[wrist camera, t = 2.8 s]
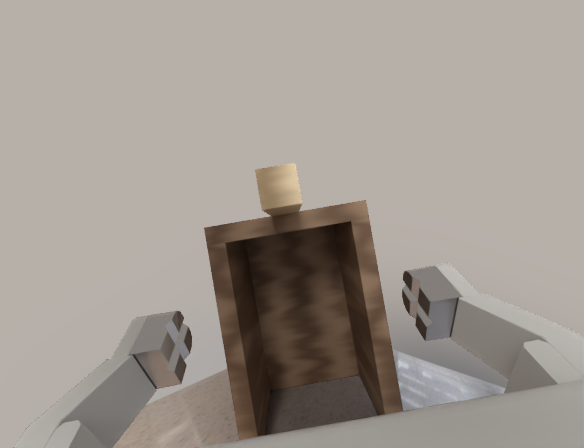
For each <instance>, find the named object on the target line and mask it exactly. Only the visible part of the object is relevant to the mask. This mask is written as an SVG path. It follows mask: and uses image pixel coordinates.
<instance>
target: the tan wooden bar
mask: <svg viewBox="0 0 584 448" xmlns="http://www.w3.org/2000/svg"><path fill="white" fill-rule="evenodd" d="M255 172H256V178H257V184H258V190H259V196H260V202H261V207H262V210H263V211H264V212H266V213H267V214H269V215H271V216H276V215H282V214H288V213H294V212H299V210H300V207H301V205H302V198H301V192H300V186H299V180H298V175H297V169H296V163H292V164H285V165H280V166H274V167H268V168H262V169H257V170H255Z"/></svg>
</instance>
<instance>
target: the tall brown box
mask: <svg viewBox="0 0 584 448" xmlns="http://www.w3.org/2000/svg"><path fill="white" fill-rule="evenodd" d="M204 230H205V236H206V242H207V248H208V254H209V260H210V265H211V272H212V278H213V283H214V290H215V295H216V302H217V307H218V314H219V320H220V326H221V332H222V338H223V344H224V350H225V356H226V362H227V368H228V374H229V380H230V386H231V392H232V398H233V404H234V410H235V416H236V422H237V428H238V434H239V440H242V439H248V438H253V437H259V436H265V433H266V425H267V417H268V409H269V401H270V393H271V390H277V389H282V388H288V387H294V386H299V385H305V384H311V383H317V382H322V381H328V380H334V379H339V378H345V377H351V376H356V375H360V377H361V380H362V382H363V384H364V386H365V388H366V390H367V392H368V395H369V397H370V399H371V401H372V403H373V405H374V407H375V410H376V412H377V414H378V416H379V415H384V414H390V413H396V412H402V411H403V408H402V402H401V396H400V391H399V385H398V379H397V374H396V368H395V362H394V357H393V351H392V346H391V340H390V334H389V329H388V323H387V318H386V312H385V306H384V301H383V294H382V289H381V283H380V278H379V272H378V266H377V260H376V255H375V249H374V243H373V238H372V232H371V226H370V221H369V215H368V210H367V204H366V200H364V201H358V202H352V203H346V204H341V205H335V206H329V207H323V208H317V209H312V210H305V211H299V212H294V213H288V214H282V215H276V216H270V217H264V218H259V219H253V220H247V221H241V222H235V223H230V224H224V225H218V226H212V227H206V228H204Z"/></svg>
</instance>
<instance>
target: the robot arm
mask: <svg viewBox="0 0 584 448" xmlns="http://www.w3.org/2000/svg"><path fill="white" fill-rule="evenodd" d="M403 280H404V281H405V284H406V285H405V287H404V288H403V289H402V297H403V302H404V305H405V308H406V310H407V311H408V313H409V315H410V316H412V317H414V318H415V319H416V327H417V328H418V330H419V332H420V333H421V335H422V336H423V338H424V340H425V341H430V340H437V339H444V338H451V339H452V340H453V341H454V342H456V343H457V344H459V345H460V346H462V347H463V348H465V349H466V350H467V351H469V352H470V353H472V354H473V355H475V356H476V357H478V358H479V359H481V360H482V361H483V362H485V363H486V364H488V365H489V366H491V367H492V368H493V369H495V370H496V371H498V372H499V373H501V374H502V375H503V376H505V377H506V378H508V379H509V382H508V384H507V387H506V389H505V392H504V394H499V395H493V396H487V397H482V398H476V399H470V400H465V401H459V402H453V403H447V404H442V405H436V406H430V407H425V408H419V409H413V410H407V411H402V412H396V413H390V414H384V415H379V416H373V417H367V418H361V419H356V420H350V421H344V422H339V423H333V424H327V425H321V426H316V427H310V428H304V429H299V430H293V431H287V432H282V433H276V434H270V435H265V436H259V437H253V438H248V439H242V440H236V441H230V442H225V443H219V444H213V445H208V446H202V447H196V448H584V338H583V337H582V336H581V335H579V334H578V333H577V332H575V331H573V330H571V329H568V328H566V327H563V326H561V325H559V324H556V323H554V322H551V321H549V320H547V319H544V318H542V317H539V316H537V315H535V314H532V313H530V312H527V311H525V310H523V309H520V308H518V307H515V306H513V305H510V304H508V303H506V302H503V301H501V300H499V299H496V298H494V297H491V296H489V295H487V294H479V293H478V292H477V291H476V290H475V289H474V288H473V287H472V286H471V285H470V284H469V283H468V282H467V281H466V280H465V279H464V278H463V277H462V276H461V275H460V274H459V273H458V272H457V271H456V270H455V269H454V268H453V267H452V266H451V265H450V264H448V263H444V264H439V265H434V266H429V267H425V268H419V269H414V270H408V271H405V272H404V274H403ZM183 319H184V317H183V315H182V314H181V312H180V311H174V312H167V313H160V314H154V315H150V316H142V317H137V318H135V319H134V320H133V321H132V322H131V324H130V326H129V328H128V329H127V331H126V333H125V335H124V337H123V339H122V340H121V342H120V344H119V346H118V348H117V350H116V351H115V353H114V355H113V357H112V358H111V359H107V360H106V361H105V362H103V363H102V364H101V365H100V366H99V367H97V368H96V369H95V370H94V371H93V372H92V373H90V374H89V375H88V376H87V377H86V378H85V379H83V380H82V381H81V382H80V383H79V384H77V385H76V386H75V387H74V388H73V389H72V390H71V391H69V392H68V393H67V394H66V395H65V396H63V397H62V398H61V399H60V400H59V401H58V402H56V403H55V404H54V405H53V406H52V407H50V409H48V410H47V411H46V412H45V413H43V414H42V415H41V416H40V417H39V418H38V419H36V420H35V421H34V422H33V423H32V424H31V425H29V426H28V427H27V428H26V430H25V431H24V433H23V434H22V436H21V437H20V439H19V440H18V442H17V443H16V445H15V446H14V447H13V448H113V446H114V445H115V444H116V443H117V441H118V440H119V439H120V437H121V436H122V435H123V433H124V432H125V431H126V430H127V428H128V427H129V426H130V424H131V423H132V422H133V420H134V419H135V418H136V417H137V415H138V414H139V413H140V411H141V410H142V409H143V407H144V406H145V405H146V404H147V402H148V401H149V400H150V398H151V397H152V396H153V394H154V393H155V392H156V389H159V388H164V387H169V386H174V385H178V384H181V383H182V380H183V376H184V373H185V369H186V363H185V362H184V359H185V358H186V357H187V356H188V355H189V354H190V350H191V347H192V336H191V331H190V329H189V327H188V326H186V325H184V324H183V323H182V322H183Z"/></svg>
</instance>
